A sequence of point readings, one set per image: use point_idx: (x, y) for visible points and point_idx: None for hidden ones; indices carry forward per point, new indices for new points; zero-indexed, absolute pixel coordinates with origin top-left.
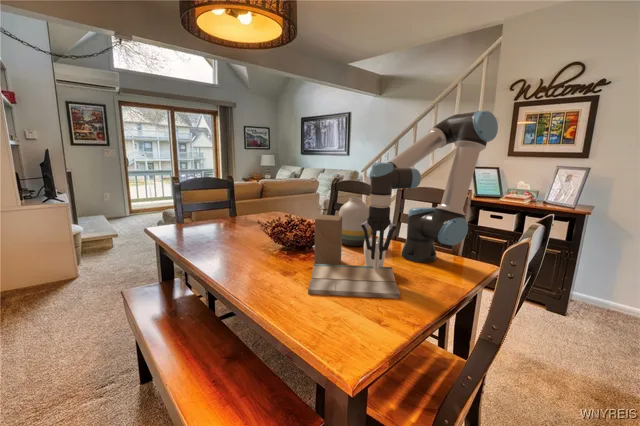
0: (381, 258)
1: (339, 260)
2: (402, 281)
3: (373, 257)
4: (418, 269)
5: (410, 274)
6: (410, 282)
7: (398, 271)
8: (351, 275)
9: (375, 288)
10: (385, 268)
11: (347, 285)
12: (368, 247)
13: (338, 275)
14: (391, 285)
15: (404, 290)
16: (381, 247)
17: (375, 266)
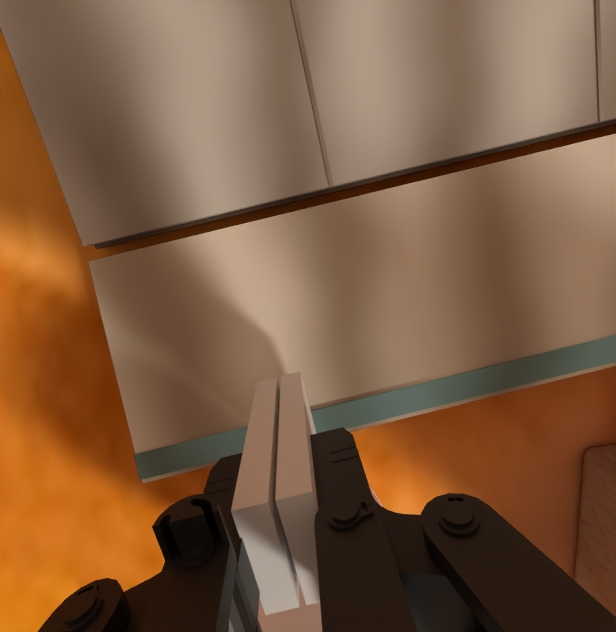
0: (217, 468)
1: (602, 536)
2: (72, 372)
3: (324, 446)
4: (6, 629)
5: (42, 522)
6: (8, 375)
7: (139, 543)
8: (483, 229)
9: (231, 33)
10: (199, 438)
11: (490, 15)
12: (473, 525)
13: (596, 194)
14: (104, 162)
15: (17, 198)
16: (175, 615)
17: (287, 384)
